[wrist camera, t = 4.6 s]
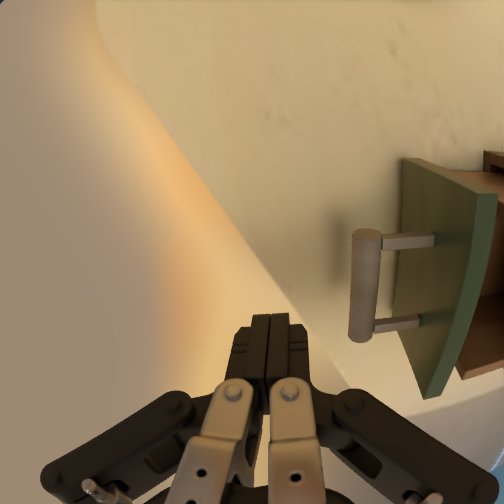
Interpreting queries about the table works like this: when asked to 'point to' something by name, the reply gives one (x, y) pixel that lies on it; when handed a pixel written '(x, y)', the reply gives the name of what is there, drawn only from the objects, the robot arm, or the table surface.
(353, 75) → the table surface
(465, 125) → the table surface
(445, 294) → the drawer
